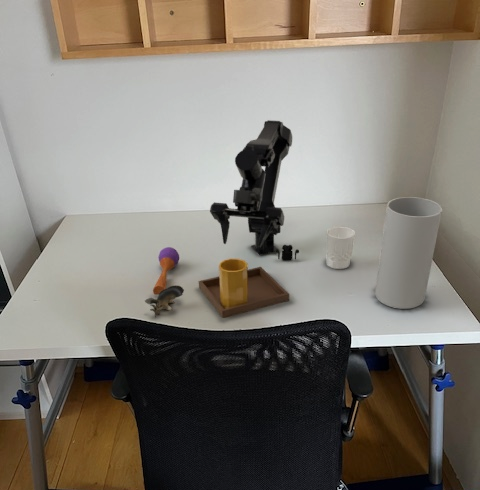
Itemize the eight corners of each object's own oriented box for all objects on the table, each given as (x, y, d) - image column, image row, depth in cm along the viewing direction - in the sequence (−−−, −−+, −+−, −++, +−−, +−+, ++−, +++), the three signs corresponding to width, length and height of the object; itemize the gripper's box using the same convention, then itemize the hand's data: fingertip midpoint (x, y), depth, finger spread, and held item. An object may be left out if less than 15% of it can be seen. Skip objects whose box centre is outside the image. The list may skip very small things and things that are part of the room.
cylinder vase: (366, 289, 144) (377, 200, 130) (407, 282, 146) (423, 194, 133) (389, 313, 134) (404, 220, 120) (433, 305, 136) (453, 213, 123)
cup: (216, 300, 139) (214, 262, 133) (241, 294, 141) (240, 256, 135) (227, 313, 134) (225, 274, 128) (252, 306, 136) (251, 267, 130)
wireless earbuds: (275, 261, 158) (275, 245, 156) (275, 257, 160) (275, 242, 158) (298, 261, 158) (299, 246, 155) (298, 257, 160) (299, 242, 157)
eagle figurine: (173, 318, 132) (191, 296, 137) (155, 297, 129) (173, 274, 135) (155, 325, 137) (172, 302, 143) (137, 304, 134) (155, 282, 140)
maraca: (144, 283, 141) (157, 245, 156) (152, 301, 144) (163, 262, 160) (166, 280, 140) (177, 241, 155) (173, 298, 143) (182, 259, 159)
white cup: (351, 271, 152) (354, 239, 147) (323, 269, 154) (325, 237, 148) (352, 258, 159) (355, 227, 153) (325, 256, 160) (327, 225, 155)
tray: (199, 290, 145) (198, 281, 144) (260, 275, 152) (260, 266, 150) (222, 320, 133) (222, 311, 131) (288, 303, 139) (289, 293, 137)
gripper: (210, 171, 134) (198, 230, 132) (283, 177, 130) (272, 237, 127) (220, 191, 145) (210, 245, 142) (288, 196, 141) (279, 253, 138)
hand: (241, 245), depth 137 cm, fingers open, 9 cm apart
